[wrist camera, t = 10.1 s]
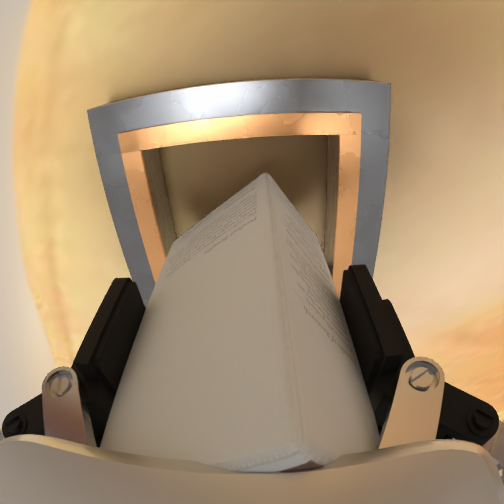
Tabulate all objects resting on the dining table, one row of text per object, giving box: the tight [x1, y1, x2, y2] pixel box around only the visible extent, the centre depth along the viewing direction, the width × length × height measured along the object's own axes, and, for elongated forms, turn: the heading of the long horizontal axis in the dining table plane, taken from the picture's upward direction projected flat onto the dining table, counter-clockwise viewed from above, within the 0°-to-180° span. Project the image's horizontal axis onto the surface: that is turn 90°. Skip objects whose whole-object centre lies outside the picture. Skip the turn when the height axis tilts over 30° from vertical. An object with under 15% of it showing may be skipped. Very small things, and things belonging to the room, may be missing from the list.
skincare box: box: [100, 173, 380, 472], centre depth 10 cm, size 6×4×12 cm
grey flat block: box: [87, 78, 391, 308], centre depth 21 cm, size 30×14×3 cm, turn 4°
